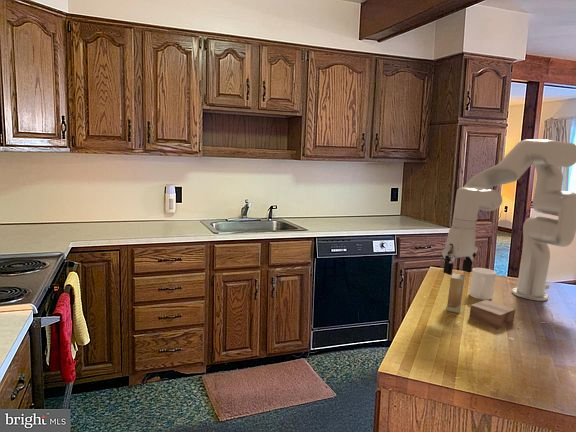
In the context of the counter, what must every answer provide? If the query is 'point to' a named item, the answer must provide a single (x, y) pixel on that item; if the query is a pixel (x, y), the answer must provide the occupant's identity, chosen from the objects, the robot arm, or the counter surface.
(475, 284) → the mug
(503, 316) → the walnut block
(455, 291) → the skincare box
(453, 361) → the counter surface
